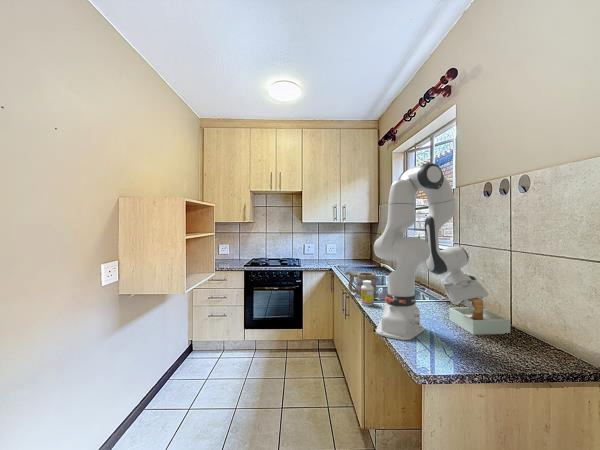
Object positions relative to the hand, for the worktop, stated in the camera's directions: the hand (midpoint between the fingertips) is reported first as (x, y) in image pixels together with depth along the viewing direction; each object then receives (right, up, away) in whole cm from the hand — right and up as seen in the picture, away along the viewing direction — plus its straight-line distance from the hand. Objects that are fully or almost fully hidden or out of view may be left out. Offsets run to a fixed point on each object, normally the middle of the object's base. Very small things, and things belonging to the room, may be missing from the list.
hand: (478, 309), depth 125 cm
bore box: (0, -7, +1) cm, 7 cm away
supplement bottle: (-39, -8, +37) cm, 54 cm away
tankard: (-39, -8, +55) cm, 68 cm away
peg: (0, -6, +1) cm, 6 cm away
